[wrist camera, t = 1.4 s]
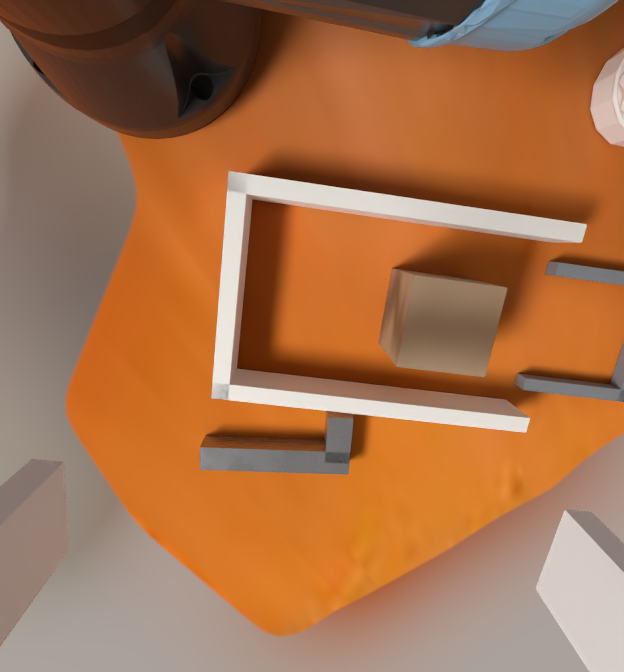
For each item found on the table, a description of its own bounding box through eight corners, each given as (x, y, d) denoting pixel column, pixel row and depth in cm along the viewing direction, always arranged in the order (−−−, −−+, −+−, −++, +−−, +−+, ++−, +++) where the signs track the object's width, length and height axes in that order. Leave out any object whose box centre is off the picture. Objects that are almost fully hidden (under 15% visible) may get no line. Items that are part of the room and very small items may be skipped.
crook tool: (205, 401, 32) (199, 412, 30) (350, 407, 32) (353, 418, 30) (206, 455, 33) (200, 469, 31) (345, 460, 33) (348, 474, 31)
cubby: (237, 179, 27) (228, 170, 24) (553, 226, 29) (587, 224, 26) (220, 380, 31) (211, 398, 28) (502, 412, 33) (526, 432, 29)
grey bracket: (548, 261, 30) (559, 262, 29) (658, 276, 30) (672, 278, 29) (514, 384, 32) (522, 390, 31) (616, 396, 33) (628, 402, 32)
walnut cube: (391, 268, 30) (414, 275, 24) (466, 278, 30) (507, 287, 24) (378, 342, 31) (396, 366, 25) (450, 351, 31) (484, 377, 26)
